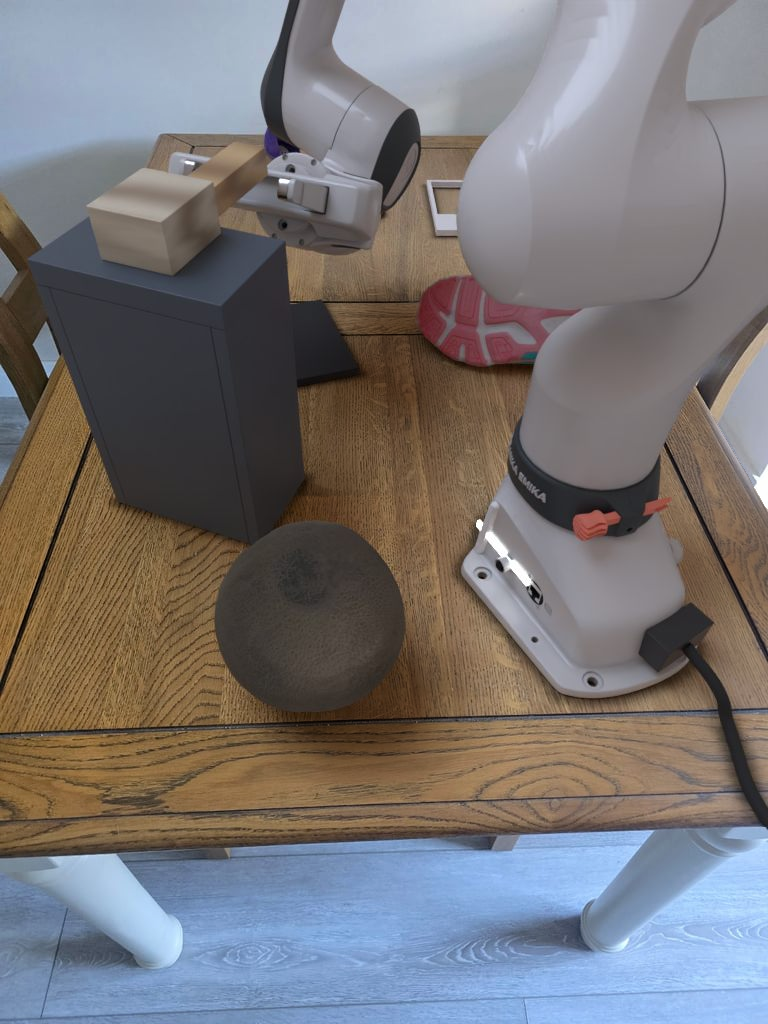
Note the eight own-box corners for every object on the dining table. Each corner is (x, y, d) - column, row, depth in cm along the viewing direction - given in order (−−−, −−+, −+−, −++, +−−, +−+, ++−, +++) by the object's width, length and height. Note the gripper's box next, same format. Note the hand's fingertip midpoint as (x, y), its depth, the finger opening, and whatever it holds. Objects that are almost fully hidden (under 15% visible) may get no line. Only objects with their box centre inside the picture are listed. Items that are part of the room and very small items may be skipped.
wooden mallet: (222, 166, 63) (216, 117, 60) (283, 178, 62) (280, 129, 59) (101, 259, 51) (85, 205, 49) (172, 276, 50) (161, 221, 47)
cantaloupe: (217, 753, 54) (180, 650, 42) (239, 599, 63) (213, 482, 52) (402, 752, 54) (414, 649, 43) (396, 599, 64) (405, 483, 52)
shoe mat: (358, 374, 86) (358, 367, 85) (278, 390, 83) (277, 383, 82) (321, 305, 96) (321, 298, 95) (248, 317, 93) (247, 311, 92)
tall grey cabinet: (171, 439, 77) (108, 202, 58) (305, 478, 74) (285, 240, 54) (117, 502, 71) (26, 258, 51) (260, 547, 67) (221, 305, 48)
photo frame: (436, 228, 109) (426, 178, 121) (436, 235, 109) (426, 185, 121) (530, 229, 109) (511, 179, 121) (529, 236, 110) (510, 186, 122)
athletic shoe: (631, 370, 89) (633, 271, 87) (635, 366, 80) (638, 257, 79) (426, 378, 97) (424, 288, 95) (409, 376, 88) (407, 276, 86)
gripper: (214, 152, 74) (132, 119, 61) (398, 186, 69) (351, 157, 56) (207, 217, 76) (126, 197, 63) (385, 253, 71) (338, 240, 59)
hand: (234, 179), depth 60 cm, fingers open, 8 cm apart
